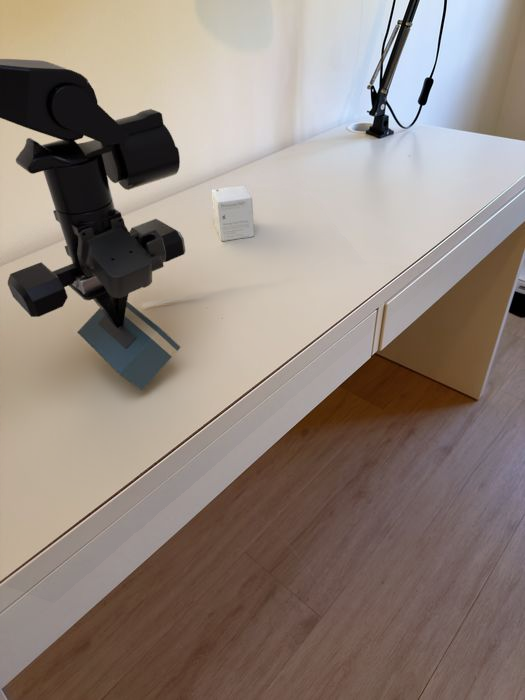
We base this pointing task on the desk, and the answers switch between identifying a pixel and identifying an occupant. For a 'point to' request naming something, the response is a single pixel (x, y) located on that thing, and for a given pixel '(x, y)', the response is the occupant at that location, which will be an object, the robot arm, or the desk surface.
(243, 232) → the product box
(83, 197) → the robot arm
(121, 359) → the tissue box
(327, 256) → the desk surface
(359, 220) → the desk surface
